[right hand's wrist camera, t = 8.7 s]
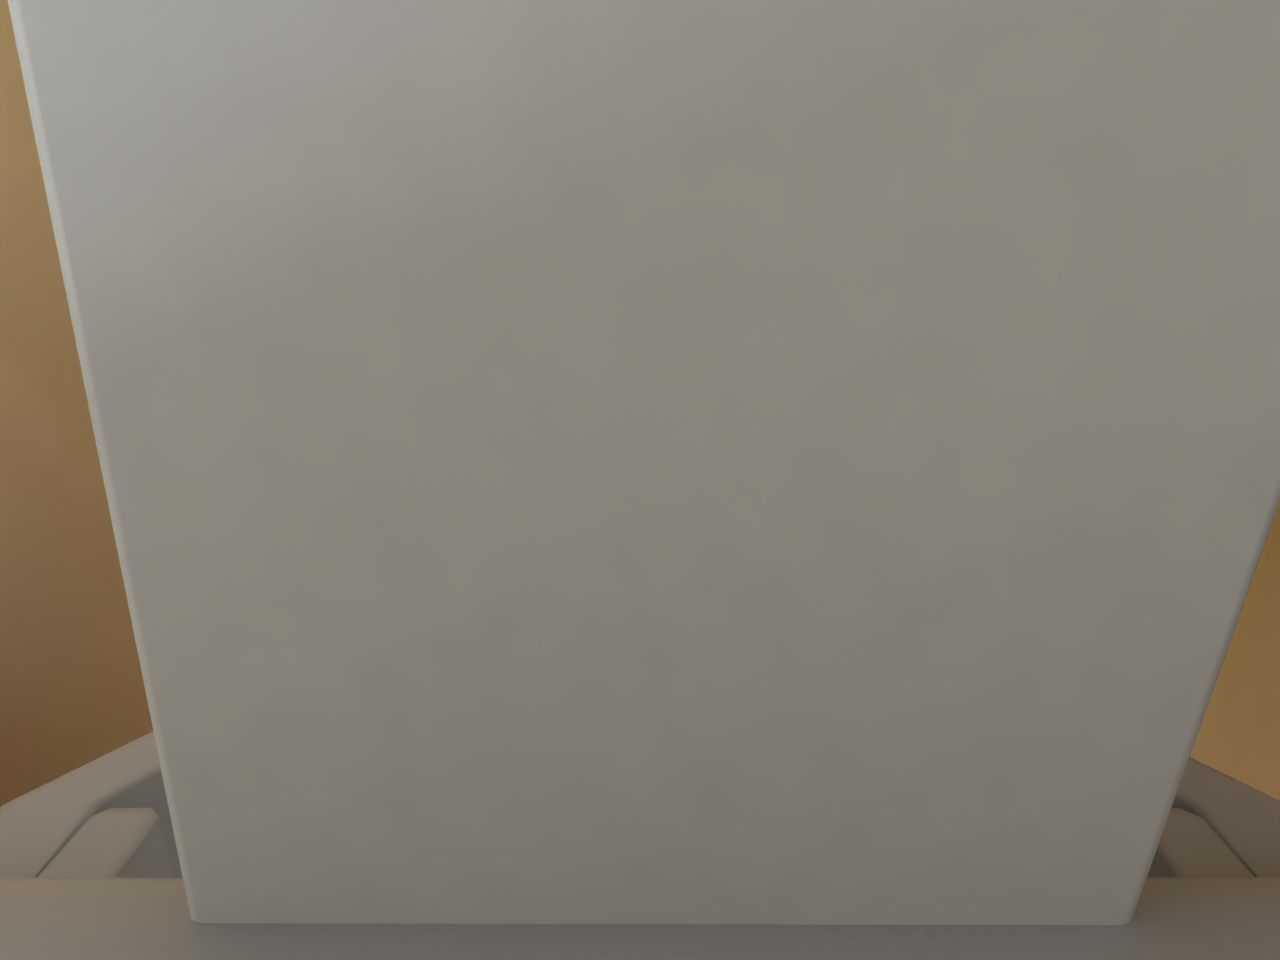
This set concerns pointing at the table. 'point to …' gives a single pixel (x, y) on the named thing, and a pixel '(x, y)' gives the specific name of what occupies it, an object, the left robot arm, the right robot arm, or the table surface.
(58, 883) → the right robot arm
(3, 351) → the table surface
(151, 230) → the bar
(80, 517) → the table surface
